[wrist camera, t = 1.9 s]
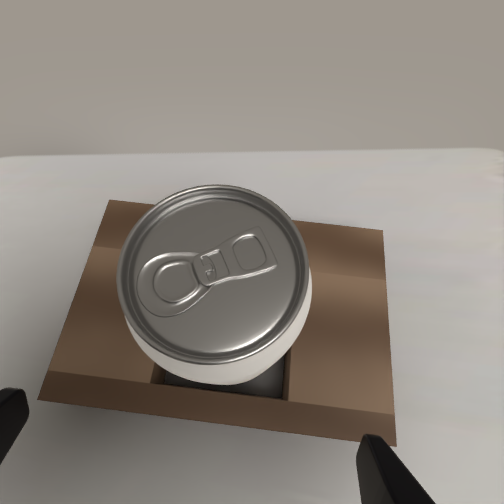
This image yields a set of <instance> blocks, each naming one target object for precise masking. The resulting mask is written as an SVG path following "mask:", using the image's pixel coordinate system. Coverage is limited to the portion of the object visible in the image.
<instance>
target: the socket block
mask: <svg viewBox="0 0 504 504" xmlns="http://www.w3.org/2000/svg"><path fill="white" fill-rule="evenodd" d="M153 206H154V205H153V204H144V203H135V202H126V201H117V200H109V202H108V205H107V208H106V210H105V213H104V216H103V219H102V221H101V224H100V227H99V230H98V232H97V235H96V238H95V241H94V243H93V246H92V249H91V252H90V255H89V257H88V260H87V263H86V266H85V268H84V271H83V274H82V277H81V279H80V282H79V285H78V288H77V291H76V293H75V296H74V299H73V302H72V304H71V307H70V310H69V313H68V315H67V318H66V321H65V324H64V326H63V329H62V332H61V335H60V338H59V340H58V343H57V346H56V349H55V351H54V354H53V357H52V360H51V362H50V365H49V368H48V371H47V374H46V376H45V379H44V382H43V385H42V387H41V390H40V393H39V396H38V398H37V400H42V401H50V402H57V403H65V404H73V405H80V406H88V407H96V408H103V409H111V410H119V411H126V412H134V413H142V414H149V415H157V416H164V417H172V418H180V419H187V420H195V421H203V422H210V423H218V424H226V425H233V426H241V427H248V428H256V429H264V430H271V431H279V432H287V433H294V434H302V435H310V436H317V437H325V438H333V439H340V440H348V441H355V442H361V440H362V437H363V435H364V434H374V435H379V436H381V437H382V438H383V439H384V440H385V441H386V443H387V444H388V445H389V446H394V447H397V444H396V429H395V413H394V397H393V382H392V366H391V351H390V335H389V320H388V304H387V289H386V273H385V257H384V242H383V230H375V229H366V228H357V227H349V226H340V225H331V224H322V223H313V222H304V221H295V220H292V221H293V222H294V224H295V225H296V227H297V228H298V230H299V232H300V234H301V236H302V238H303V241H304V243H305V246H306V250H307V254H308V260H309V267H310V272H311V279H312V296H311V303H310V308H309V312H308V315H307V318H306V321H305V323H304V326H303V328H302V330H301V332H300V334H299V335H298V337H297V339H296V340H295V342H294V343H293V344H292V346H291V347H290V348H289V349H288V350H287V352H286V353H285V359H284V374H283V388H282V399H280V398H272V397H264V396H256V395H248V394H240V393H233V392H225V391H217V390H209V389H201V388H194V387H186V386H178V385H170V384H164V380H165V375H166V370H165V369H164V368H162V367H161V366H159V365H158V364H157V363H156V362H154V361H153V360H152V359H151V358H150V357H149V356H148V355H147V354H146V353H145V352H144V351H143V350H142V349H141V347H140V346H139V345H138V343H137V342H136V340H135V339H134V337H133V335H132V334H131V331H130V329H129V327H128V324H127V322H126V318H125V315H124V312H123V310H122V307H121V304H120V301H119V297H118V292H117V283H116V275H117V265H118V260H119V256H120V253H121V250H122V247H123V244H124V242H125V240H126V238H127V236H128V234H129V233H130V231H131V230H132V228H133V227H134V225H135V224H136V223H137V222H138V220H139V219H140V218H141V217H142V216H143V215H144V214H145V213H146V212H147V211H148V210H149V209H151V208H152V207H153Z"/></svg>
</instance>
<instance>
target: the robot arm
mask: <svg viewBox="0 0 504 504" xmlns="http://www.w3.org/2000/svg"><path fill="white" fill-rule="evenodd" d="M28 416H29V407H28V403H27V399H26V394H25V391H24V390H23V389H18V388H4V389H2V390H0V464H1V463H2V461H3V459H4V458H5V456H6V455H7V453H8V451H9V450H10V448H11V446H12V445H13V443H14V441H15V440H16V438H17V436H18V435H19V433H20V431H21V430H22V428H23V426H24V425H25V423H26V421H27V419H28ZM356 466H357V473H358V480H359V488H360V495H361V502H362V504H436V503H435V502H434V501H433V500H432V499H431V497H430V496H429V495H428V494H427V492H426V491H425V490H424V489H423V487H422V486H421V485H420V484H419V482H418V481H417V480H416V479H415V477H414V476H413V475H412V474H411V472H410V471H409V470H408V469H407V467H406V466H405V465H404V464H403V463H402V461H401V460H400V459H399V458H398V456H397V455H396V454H395V453H394V451H393V450H392V449H391V448H390V446H389V445H388V444H387V443H386V441H385V440H384V439H383V438H382V437H381V436H379V435H374V434H364V435H363V437H362V440H361V443H360V446H359V449H358V452H357V456H356Z"/></svg>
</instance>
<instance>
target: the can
mask: <svg viewBox="0 0 504 504" xmlns="http://www.w3.org/2000/svg"><path fill="white" fill-rule="evenodd" d="M116 283H117V292H118V297H119V301H120V304H121V307H122V310H123V312H124V315H125V318H126V322H127V324H128V327H129V329H130V331H131V334H132V335H133V337H134V339H135V340H136V342H137V343H138V345H139V346H140V347H141V349H142V350H143V351H144V352H145V353H146V354H147V355H148V356H149V357H150V358H151V359H152V360H153V361H154V362H156V363H157V364H158V365H159V366H161V367H162V368H164V369H165V370H167V371H169V372H171V373H173V374H175V375H177V376H180V377H182V378H185V379H188V380H192V381H196V382H201V383H208V384H219V385H233V384H240V383H244V382H247V381H249V380H251V379H253V378H255V377H257V376H258V375H260V374H261V373H263V372H264V371H265V370H267V369H268V368H269V367H271V366H272V365H273V364H274V363H275V362H277V361H278V360H279V359H280V358H281V357H282V356H283V355H284V354H285V353H286V352H287V350H288V349H289V348H290V347H291V346H292V344H293V343H294V342H295V340H296V339H297V337H298V335H299V334H300V332H301V330H302V328H303V326H304V323H305V321H306V318H307V315H308V312H309V308H310V303H311V296H312V279H311V272H310V267H309V260H308V254H307V250H306V246H305V243H304V241H303V238H302V236H301V234H300V232H299V230H298V228H297V227H296V225H295V224H294V222H293V221H292V220H291V218H290V217H289V216H288V215H287V214H286V213H285V212H284V211H283V210H282V209H281V208H280V207H279V206H278V205H276V204H275V203H274V202H272V201H271V200H269V199H268V198H266V197H264V196H262V195H260V194H258V193H256V192H254V191H251V190H248V189H245V188H241V187H236V186H230V185H203V186H197V187H193V188H189V189H185V190H182V191H180V192H177V193H175V194H173V195H171V196H169V197H167V198H165V199H163V200H162V201H160V202H158V203H157V204H156V205H154V206H153V207H152V208H151V209H149V210H148V211H147V212H146V213H145V214H144V215H143V216H142V217H141V218H140V219H139V220H138V222H137V223H136V224H135V225H134V227H133V228H132V230H131V231H130V233H129V234H128V236H127V238H126V240H125V242H124V244H123V247H122V250H121V253H120V256H119V260H118V265H117V275H116Z"/></svg>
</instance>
